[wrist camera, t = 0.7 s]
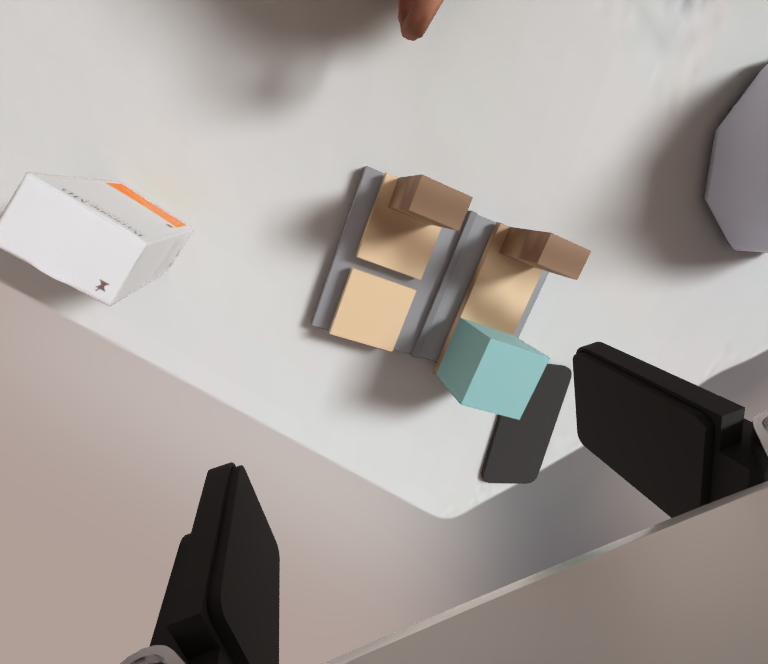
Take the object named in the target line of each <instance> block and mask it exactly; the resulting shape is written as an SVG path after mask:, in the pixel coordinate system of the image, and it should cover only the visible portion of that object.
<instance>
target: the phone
mask: <svg viewBox="0 0 768 664" xmlns="http://www.w3.org/2000/svg"><path fill="white" fill-rule="evenodd" d="M570 379H571V370H570V369H569V368H568V367H566V366H562V365H554V364H547V365H546V367H545V369H544V371H543V373H542V375H541V377H540V379H539V381H538V384H537V386H536V388H535V390H534V392H533V394H532V396H531V398H530V400H529V402H528V404H527V406H526V408H525V410H524V412H523V414H522V416H521V418H520V420H518V419H514V418H510V417H506V416H503V415H499V416H498V419H497V422H496V425H495V429H494V432H493V435H492V438H491V441H490V444H489V448H488V452H487V455H486V458H485V462H484V465H483V468H482V472H481V476H482V478H483V479H484V481H486V482H488V483H522V484H526V483H531V482H533V481H534V480H535V479H536V478H537V475H538V473H539V470H540V467H541V465H542V462H543V459H544V456H545V453H546V450H547V447H548V444H549V441H550V438H551V435H552V432H553V429H554V426H555V423H556V421H557V418H558V415H559V412H560V409H561V406H562V403H563V400H564V397H565V394H566V391H567V388H568V385H569V382H570Z"/></svg>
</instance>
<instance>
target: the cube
mask: <svg viewBox="0 0 768 664" xmlns="http://www.w3.org/2000/svg"><path fill="white" fill-rule="evenodd" d="M549 359H550V358H549V357H548V356H546V355H545V354H543V353H541V352H540V351H538V350H536V349H535V348H533V347H532V346H530V345H528V344H527V343H525V342H523V341H522V340H520V339H518V338H517V337H515V336H514V335H511V334H508V333H505V332H502V331H499V330H496V329H493V328H490V327H488V326H485V325H482V324H479V323H476V322H473V321H470V320H467V319H464V318H461V317H460V319H459V322H458V324H457V326H456V329H455V331H454V333H453V336H452V338H451V340H450V343H449V345H448V347H447V350H446V352H445V354H444V357H443V359H442V361H441V364H440V366H439V368H438V371H437V373H436V376H437V377H438V378H439V380H440V381H441V382H442V383H443V384H444V385H445V387H446V388H447V389H448V390H449V391H450V392H451V394H452V395H453V396H454V397H455V398H456V400H457V401H458V402H459V403H460V404H461V405H464V406H468V407H472V408H475V409H479V410H483V411H487V412H491V413H495V414H499V415H503V416H506V417H510V418H514V419H518V420H520V418H521V416H522V414H523V412H524V410H525V408H526V406H527V404H528V402H529V400H530V398H531V396H532V394H533V392H534V390H535V388H536V386H537V384H538V381H539V379H540V377H541V375H542V373H543V371H544V369H545V367H546V365H547V363H548V361H549Z"/></svg>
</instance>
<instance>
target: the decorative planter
mask: <svg viewBox="0 0 768 664" xmlns="http://www.w3.org/2000/svg"><path fill="white" fill-rule="evenodd" d="M442 2H443V0H398V11H399V12H398V19H399V22H400V27H401V33H402V36H403V37H405V38H406V39H408V40H412V41H414V40H416V39H418V38H420V37H422V36H423V34H424V33H425V31H426V29H427V28H428V26H429V24H430V22H431V21H432V19H433V17H434V16H435V14H436V12H437V11H438V9H439V7H440V5H441V4H442Z"/></svg>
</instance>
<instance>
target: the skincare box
mask: <svg viewBox="0 0 768 664" xmlns="http://www.w3.org/2000/svg"><path fill="white" fill-rule="evenodd" d="M192 232H193V228H192V227H190V226H188V225H187V224H185V223H183V222H182V221H180V220H178V219H177V218H175V217H174V216H172V215H170V214H169V213H167V212H166V211H164V210H162V209H161V208H159V207H158V206H156V205H154V204H153V203H151V202H150V201H148V200H147V199H145V198H144V197H142V196H141V195H139V194H138V193H136V192H135V191H133V190H132V189H130V188H129V187H127V186H126V185H124V184H123V183H121V182H115V181H106V180H97V179H87V178H77V177H67V176H57V175H47V174H38V173H29V172H28V173H26V174H25V176H24V178H23V180H22V182H21V183H20V185H19V186H18V188H17V190H16V191H15V193H14V195H13V196H12V198H11V200H10V201H9V203H8V205H7V207H6V208H5V210H4V212H3V213H2V215H1V216H0V249H1V250H3V251H5V252H7V253H9V254H11V255H13V256H15V257H17V258H18V259H20V260H22V261H24V262H26V263H28V264H30V265H32V266H33V267H35V268H36V269H38V270H39V271H41V272H43V273H44V274H46V275H48V276H50V277H51V278H53V279H55V280H57V281H60V282H63V283H65V284H67V285H69V286H71V287H73V288H75V289H76V290H78V291H80V292H82V293H84V294H86V295H88V296H90V297H92V298H94V299H96V300H98V301H100V302H102V303H104V304H105V305H107V306H112V305H114V304H115V303H117V302H118V301H120V300H121V299H123V298H125V297H126V296H128V295H130V294H131V293H133V292H134V291H136V290H138V289H139V288H141V287H143V286H144V285H146V284H147V283H149V282H151V281H152V280H154V279H155V278H157V277H159V276H160V275H162V274H164V273H165V272H167V271H168V269H169V268H170V266H171V265H172V263H173V262H174V260H175V259H176V257H177V256H178V254H179V252H180V251H181V249H182V247H183V246H184V244H185V243H186V241H187V239H188V238H189V236H190V235H191V233H192Z"/></svg>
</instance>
